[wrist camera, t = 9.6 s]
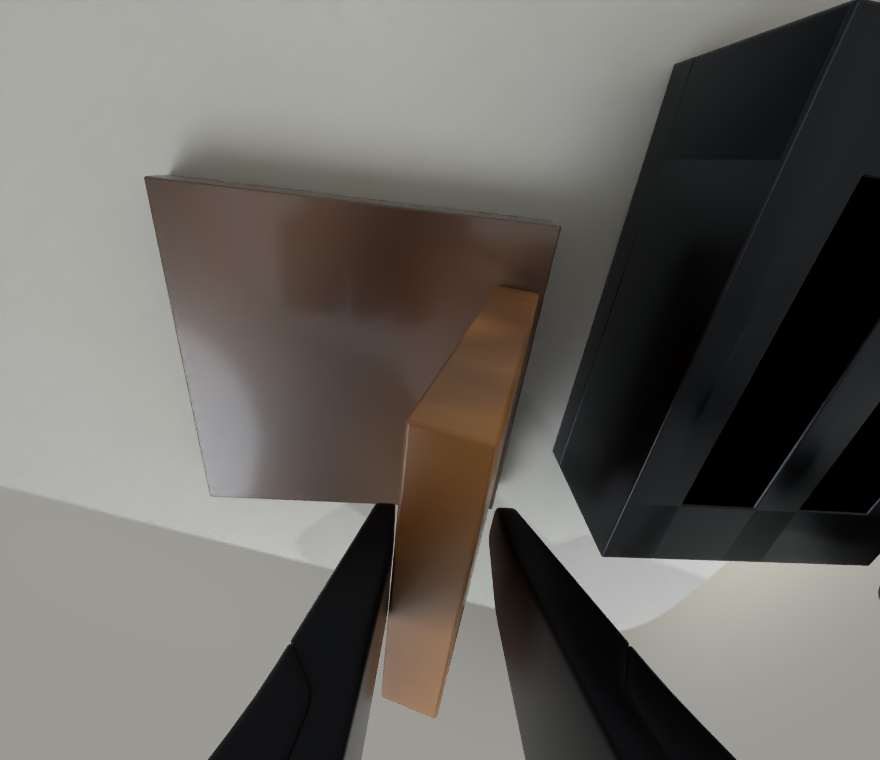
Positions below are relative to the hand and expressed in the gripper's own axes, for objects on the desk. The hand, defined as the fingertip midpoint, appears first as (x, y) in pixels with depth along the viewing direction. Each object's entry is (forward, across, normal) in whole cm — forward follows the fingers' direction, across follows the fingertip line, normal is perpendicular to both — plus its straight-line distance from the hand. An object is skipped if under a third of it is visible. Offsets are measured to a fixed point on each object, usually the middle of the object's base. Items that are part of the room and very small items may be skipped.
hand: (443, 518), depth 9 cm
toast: (+6, -2, 0) cm, 7 cm away
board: (+8, +3, 0) cm, 8 cm away
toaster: (+8, -11, -3) cm, 14 cm away
